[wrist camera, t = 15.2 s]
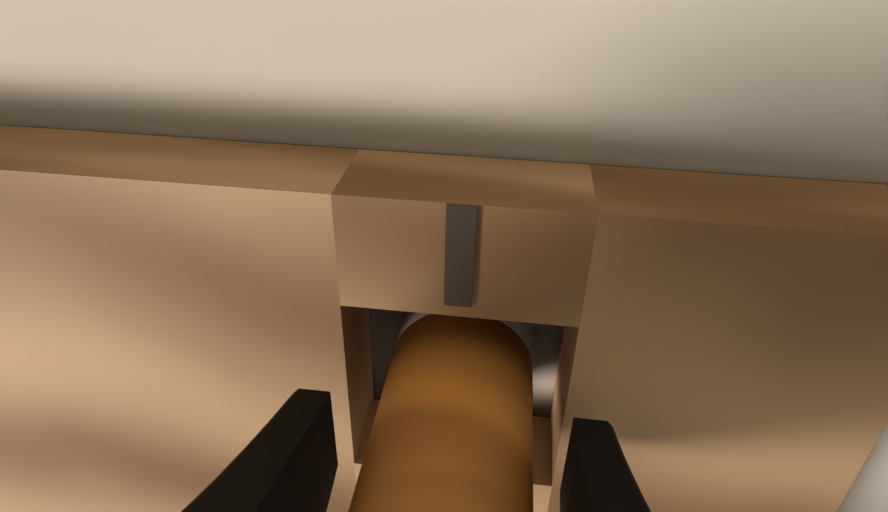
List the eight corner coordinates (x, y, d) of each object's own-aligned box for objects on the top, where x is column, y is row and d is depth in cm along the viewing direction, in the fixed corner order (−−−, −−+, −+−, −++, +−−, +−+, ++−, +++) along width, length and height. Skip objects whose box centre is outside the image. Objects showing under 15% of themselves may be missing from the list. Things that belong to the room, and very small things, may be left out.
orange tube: (526, 390, 15) (524, 698, 9) (402, 378, 15) (329, 670, 10) (538, 288, 13) (545, 585, 8) (400, 277, 13) (310, 556, 8)
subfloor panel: (702, 645, 19) (719, 723, 18) (-102, 534, 22) (-157, 592, 20) (919, 186, 11) (993, 246, 9) (-427, 96, 14) (-571, 129, 12)
